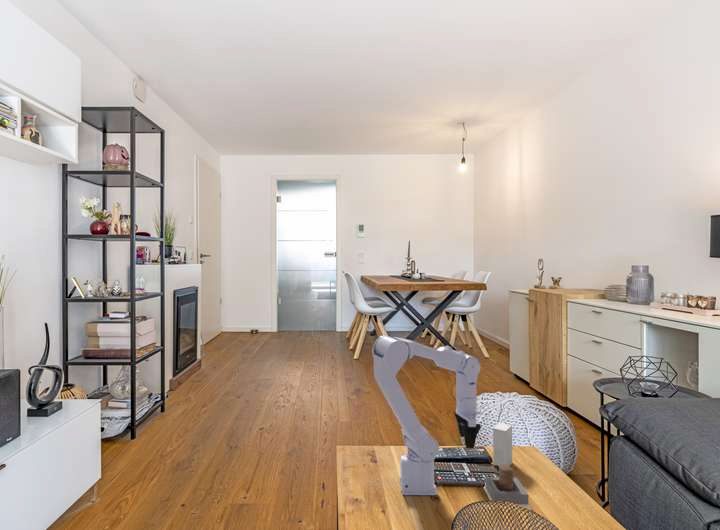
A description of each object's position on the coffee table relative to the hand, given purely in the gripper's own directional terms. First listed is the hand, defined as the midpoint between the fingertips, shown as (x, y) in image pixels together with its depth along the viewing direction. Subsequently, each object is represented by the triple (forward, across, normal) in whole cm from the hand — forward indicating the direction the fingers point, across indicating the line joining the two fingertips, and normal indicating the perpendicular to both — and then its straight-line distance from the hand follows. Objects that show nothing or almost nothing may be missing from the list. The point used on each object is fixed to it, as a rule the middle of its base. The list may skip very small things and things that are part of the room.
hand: (466, 442), depth 124 cm
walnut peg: (+9, -11, -8) cm, 17 cm away
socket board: (+10, -11, -8) cm, 17 cm away
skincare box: (+11, +8, -13) cm, 18 cm away
